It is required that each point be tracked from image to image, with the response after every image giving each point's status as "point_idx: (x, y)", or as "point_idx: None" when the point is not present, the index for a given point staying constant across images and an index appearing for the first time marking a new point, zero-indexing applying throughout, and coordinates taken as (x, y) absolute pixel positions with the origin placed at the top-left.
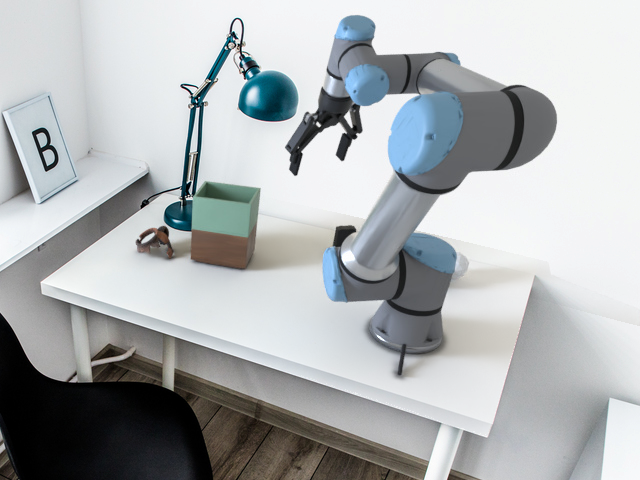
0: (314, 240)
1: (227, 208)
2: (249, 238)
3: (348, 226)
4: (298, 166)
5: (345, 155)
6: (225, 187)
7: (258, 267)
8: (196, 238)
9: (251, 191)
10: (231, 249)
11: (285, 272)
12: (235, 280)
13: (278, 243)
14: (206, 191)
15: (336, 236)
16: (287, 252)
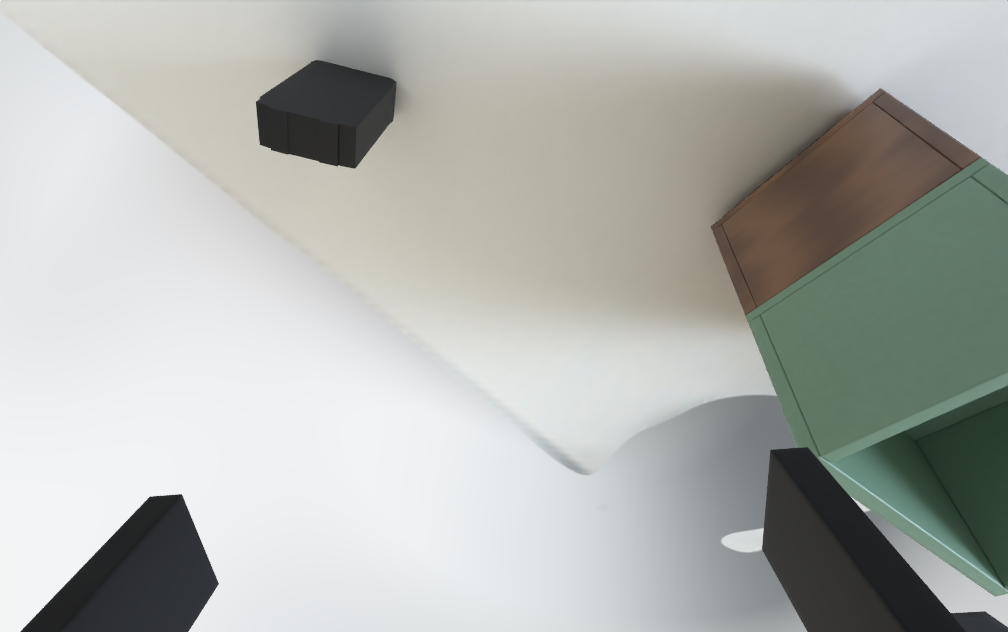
0: (423, 226)
1: None
2: (910, 180)
3: (291, 143)
4: (877, 557)
5: (100, 553)
6: (937, 529)
7: (780, 100)
8: None
9: (844, 458)
10: None
11: (698, 6)
12: (986, 14)
13: (568, 251)
14: (970, 533)
15: (369, 124)
16: (575, 178)
